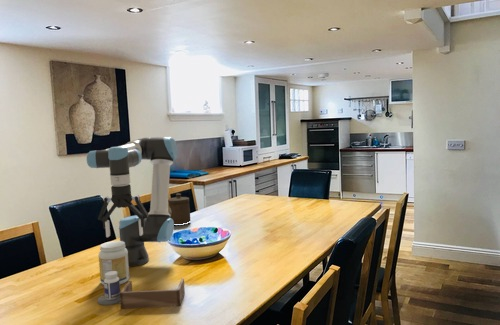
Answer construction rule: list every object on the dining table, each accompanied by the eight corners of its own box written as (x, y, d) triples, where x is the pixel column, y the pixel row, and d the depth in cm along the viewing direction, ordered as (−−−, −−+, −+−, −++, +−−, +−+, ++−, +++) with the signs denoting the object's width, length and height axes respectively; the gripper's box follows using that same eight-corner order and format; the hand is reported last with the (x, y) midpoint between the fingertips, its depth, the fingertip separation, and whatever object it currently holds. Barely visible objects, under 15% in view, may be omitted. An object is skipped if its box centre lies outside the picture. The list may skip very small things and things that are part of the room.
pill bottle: (122, 293, 159) (120, 269, 159) (118, 300, 154) (116, 275, 153) (107, 294, 159) (106, 270, 158) (103, 300, 153) (101, 275, 153)
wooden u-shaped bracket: (130, 295, 159) (129, 280, 159) (184, 292, 160) (183, 278, 159) (120, 308, 147) (119, 293, 147) (180, 306, 148) (179, 290, 147)
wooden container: (173, 221, 290) (171, 191, 289) (193, 221, 288) (191, 191, 286) (166, 226, 276) (164, 195, 274) (187, 226, 274) (185, 194, 272)
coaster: (103, 294, 162) (103, 292, 162) (130, 292, 162) (130, 291, 162) (93, 305, 151) (93, 304, 151) (122, 304, 151) (122, 303, 151)
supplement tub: (107, 276, 181) (104, 240, 180) (133, 276, 181) (131, 239, 180) (95, 287, 169) (93, 248, 168) (124, 286, 169) (121, 247, 167)
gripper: (86, 187, 157) (91, 239, 159) (149, 185, 157) (153, 237, 159) (93, 184, 164) (97, 234, 167) (153, 181, 164) (157, 231, 167)
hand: (124, 235), depth 163 cm, fingers open, 13 cm apart
